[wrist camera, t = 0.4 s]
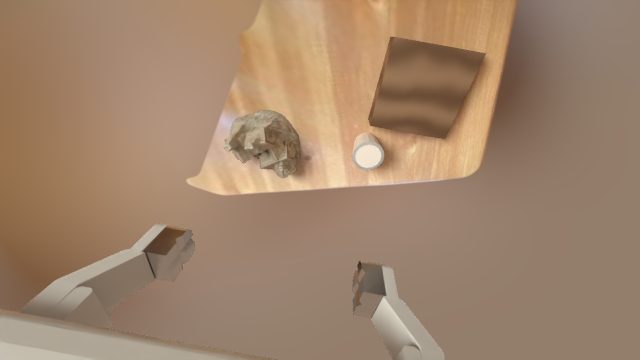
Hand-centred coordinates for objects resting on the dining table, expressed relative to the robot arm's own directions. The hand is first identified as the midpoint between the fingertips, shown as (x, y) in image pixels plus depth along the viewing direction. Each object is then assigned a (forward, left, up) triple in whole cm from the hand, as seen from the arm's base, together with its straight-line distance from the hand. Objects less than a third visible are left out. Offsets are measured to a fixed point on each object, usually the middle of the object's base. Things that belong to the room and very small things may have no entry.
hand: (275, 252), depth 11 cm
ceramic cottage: (+16, -13, -45) cm, 50 cm away
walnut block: (-2, +18, -46) cm, 49 cm away
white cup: (+12, +11, -45) cm, 48 cm away
